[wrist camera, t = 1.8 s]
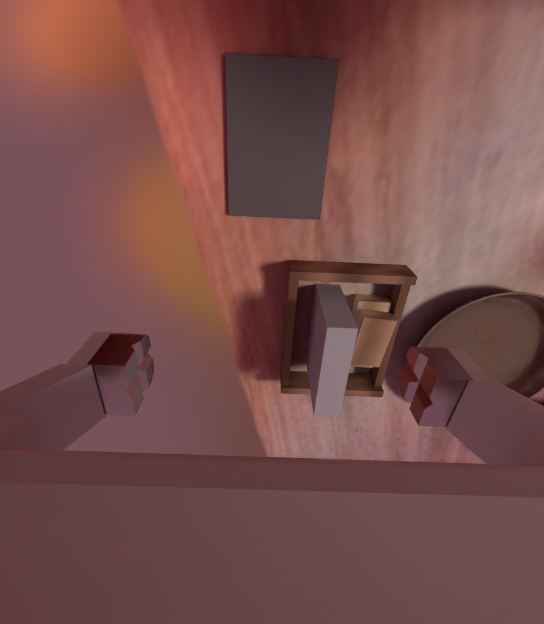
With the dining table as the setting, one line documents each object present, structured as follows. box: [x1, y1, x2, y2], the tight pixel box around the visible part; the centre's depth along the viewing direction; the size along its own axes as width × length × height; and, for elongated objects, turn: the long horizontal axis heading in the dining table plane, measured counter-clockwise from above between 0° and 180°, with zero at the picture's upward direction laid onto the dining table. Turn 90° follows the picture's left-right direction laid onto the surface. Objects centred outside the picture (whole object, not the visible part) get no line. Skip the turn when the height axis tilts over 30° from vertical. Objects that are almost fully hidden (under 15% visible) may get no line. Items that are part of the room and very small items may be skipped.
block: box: [306, 284, 358, 416], centre depth 38 cm, size 3×12×10 cm, turn 177°
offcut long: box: [350, 294, 391, 368], centre depth 42 cm, size 4×10×2 cm, turn 176°
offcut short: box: [351, 309, 397, 367], centre depth 40 cm, size 4×7×2 cm, turn 172°
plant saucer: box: [416, 292, 544, 399], centre depth 43 cm, size 21×21×3 cm
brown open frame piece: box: [280, 260, 417, 397], centre depth 41 cm, size 14×18×4 cm
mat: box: [225, 53, 339, 220], centre depth 32 cm, size 10×14×1 cm
